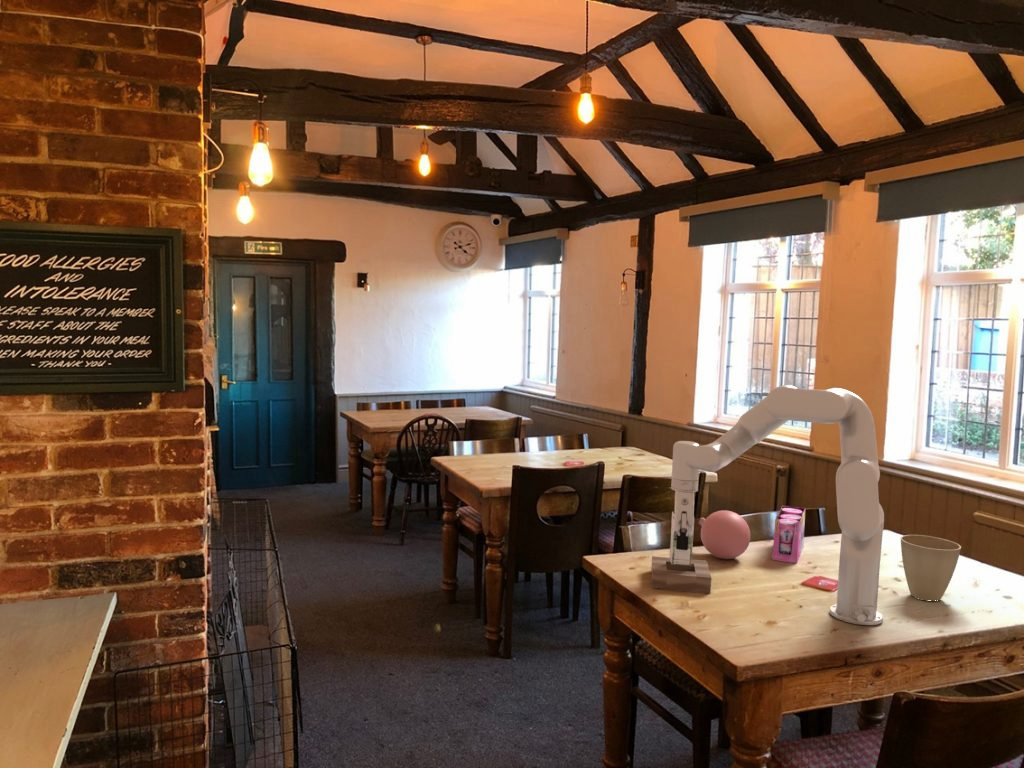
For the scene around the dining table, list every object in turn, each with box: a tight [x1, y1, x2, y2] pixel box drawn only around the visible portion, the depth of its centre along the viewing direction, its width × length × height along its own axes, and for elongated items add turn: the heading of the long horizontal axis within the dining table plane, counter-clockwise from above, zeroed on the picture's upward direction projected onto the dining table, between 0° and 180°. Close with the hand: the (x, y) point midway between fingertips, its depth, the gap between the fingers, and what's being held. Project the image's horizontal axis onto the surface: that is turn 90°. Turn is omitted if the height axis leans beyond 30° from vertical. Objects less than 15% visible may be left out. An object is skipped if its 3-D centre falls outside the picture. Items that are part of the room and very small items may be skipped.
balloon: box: [698, 509, 751, 560], centre depth 249 cm, size 15×20×15 cm
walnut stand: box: [650, 555, 712, 594], centre depth 222 cm, size 16×16×4 cm
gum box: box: [771, 505, 807, 565], centre depth 254 cm, size 24×8×14 cm, turn 155°
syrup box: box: [669, 511, 695, 566], centre depth 221 cm, size 6×6×14 cm
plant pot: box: [900, 534, 962, 601], centre depth 215 cm, size 15×15×16 cm
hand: (681, 545), depth 221 cm, fingers closed on syrup box, 6 cm apart
